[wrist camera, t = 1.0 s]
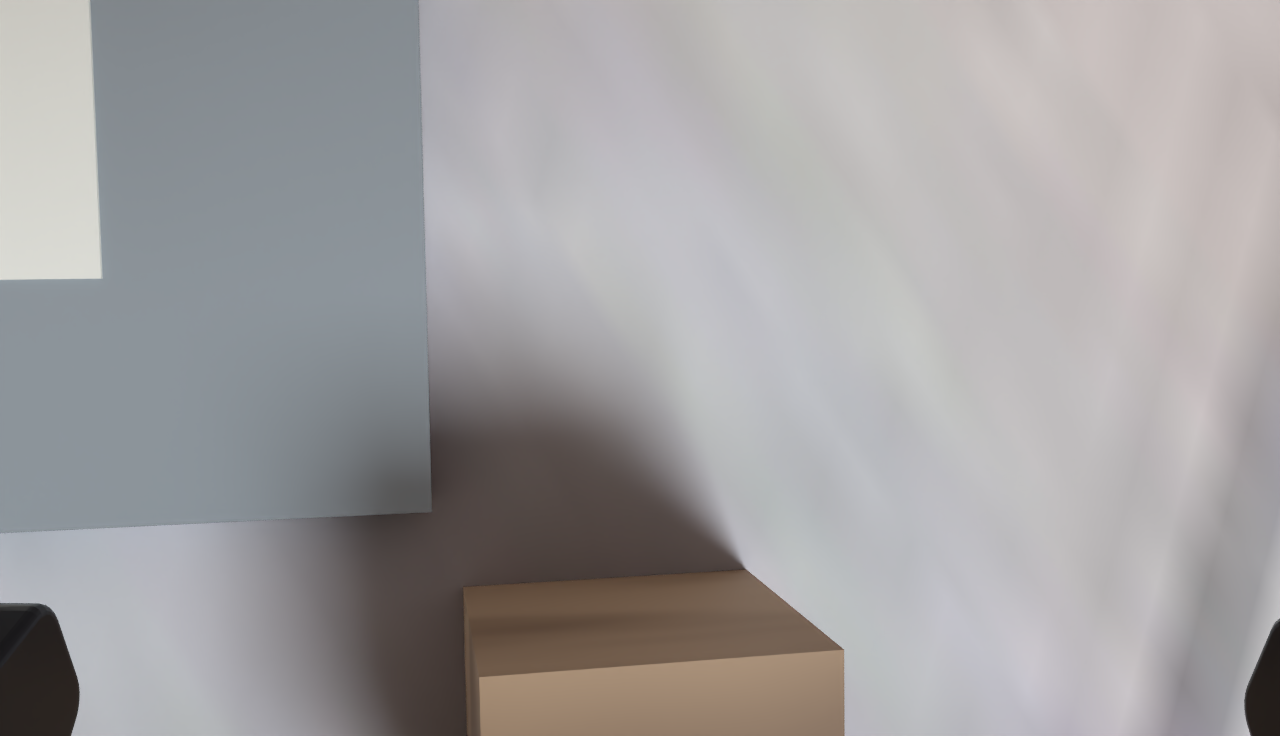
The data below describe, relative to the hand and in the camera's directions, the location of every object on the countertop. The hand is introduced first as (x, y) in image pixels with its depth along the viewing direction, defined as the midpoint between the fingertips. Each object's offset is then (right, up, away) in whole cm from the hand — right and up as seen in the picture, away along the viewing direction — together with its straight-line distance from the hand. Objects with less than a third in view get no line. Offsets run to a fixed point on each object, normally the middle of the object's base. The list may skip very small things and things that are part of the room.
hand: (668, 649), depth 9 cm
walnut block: (-1, -4, +12) cm, 13 cm away
